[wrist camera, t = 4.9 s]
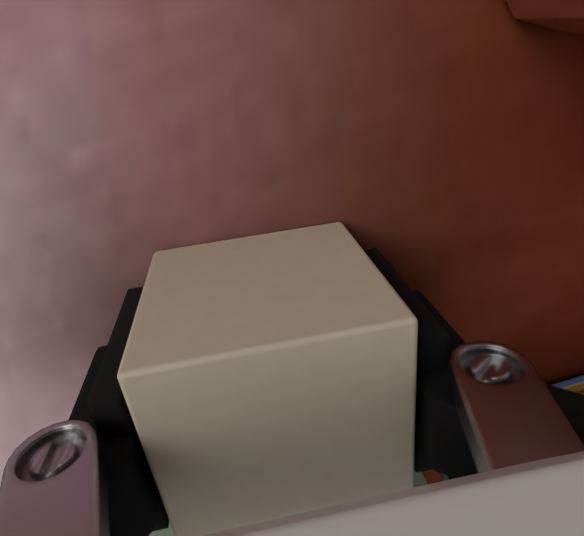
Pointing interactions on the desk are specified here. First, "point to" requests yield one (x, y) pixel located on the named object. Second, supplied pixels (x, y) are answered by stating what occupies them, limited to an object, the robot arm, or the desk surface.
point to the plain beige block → (271, 378)
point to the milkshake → (550, 13)
